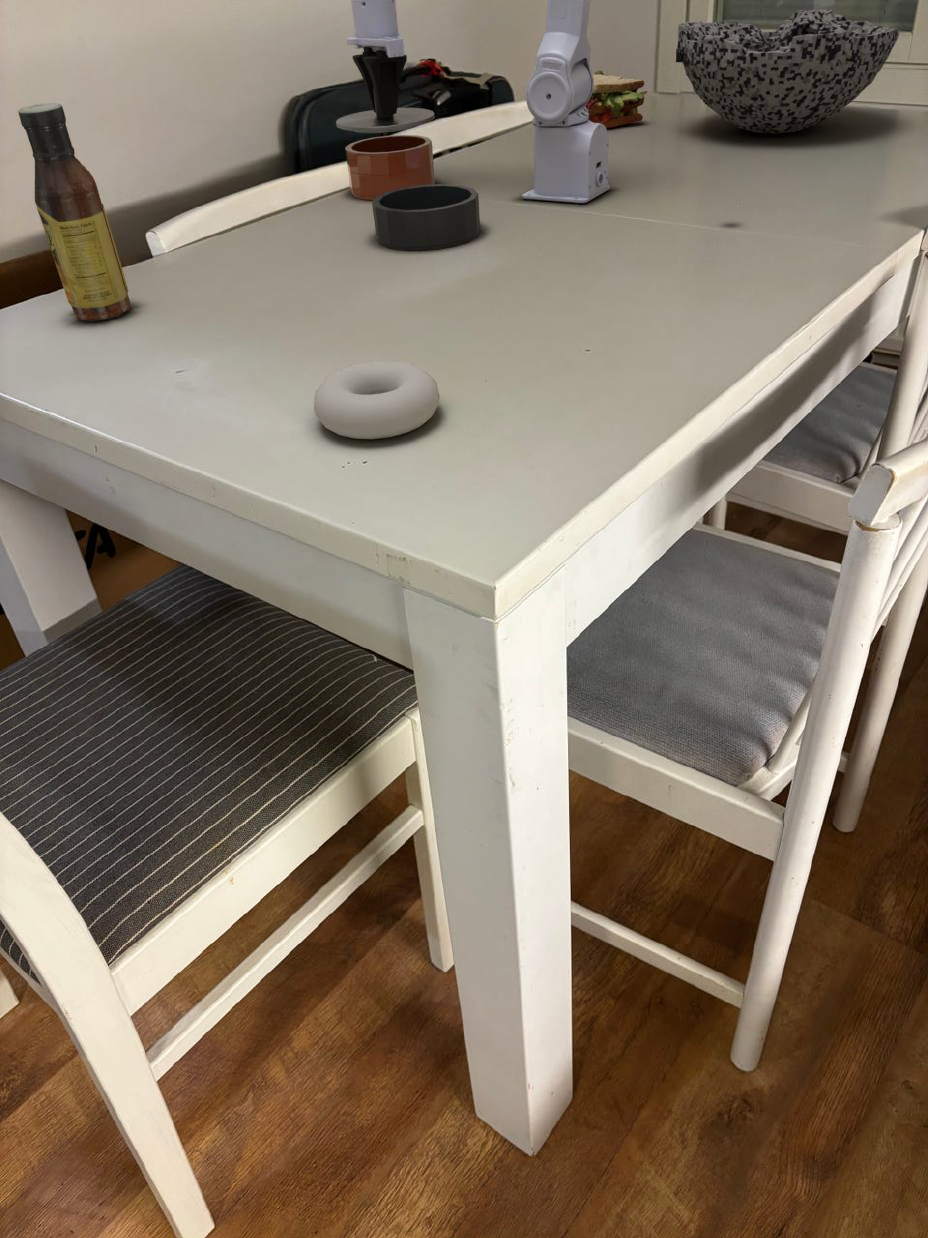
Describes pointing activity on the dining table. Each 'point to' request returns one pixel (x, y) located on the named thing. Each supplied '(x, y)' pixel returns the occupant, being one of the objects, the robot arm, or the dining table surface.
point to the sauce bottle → (74, 218)
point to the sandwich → (615, 100)
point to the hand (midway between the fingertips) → (385, 112)
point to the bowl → (783, 67)
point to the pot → (389, 164)
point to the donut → (376, 399)
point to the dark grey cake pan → (426, 217)
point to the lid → (384, 120)
